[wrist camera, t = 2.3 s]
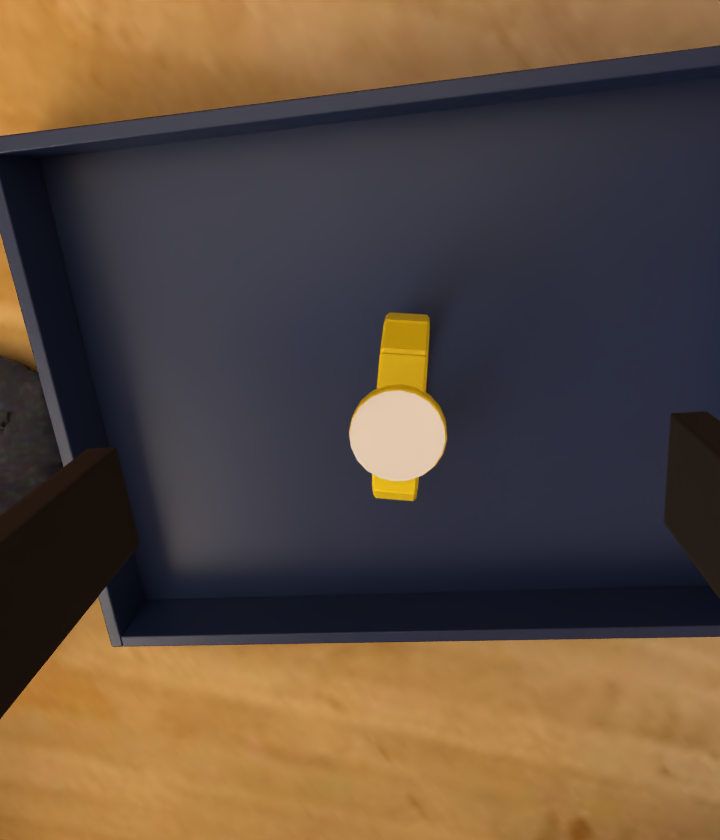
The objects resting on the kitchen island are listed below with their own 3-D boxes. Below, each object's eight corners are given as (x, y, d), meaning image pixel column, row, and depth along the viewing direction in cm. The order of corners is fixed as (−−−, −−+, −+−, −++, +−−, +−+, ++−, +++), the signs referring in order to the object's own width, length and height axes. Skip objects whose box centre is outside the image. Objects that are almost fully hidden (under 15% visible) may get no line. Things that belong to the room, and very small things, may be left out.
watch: (435, 462, 24) (437, 541, 19) (363, 456, 25) (344, 533, 19) (448, 305, 22) (456, 341, 17) (370, 300, 23) (352, 335, 17)
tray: (793, 51, 19) (853, 28, 17) (735, 589, 25) (772, 636, 23) (29, 146, 22) (-26, 138, 20) (141, 604, 29) (111, 647, 26)
